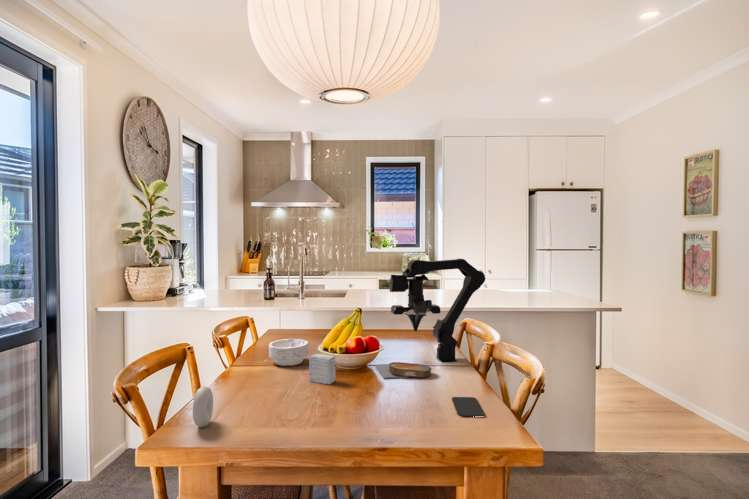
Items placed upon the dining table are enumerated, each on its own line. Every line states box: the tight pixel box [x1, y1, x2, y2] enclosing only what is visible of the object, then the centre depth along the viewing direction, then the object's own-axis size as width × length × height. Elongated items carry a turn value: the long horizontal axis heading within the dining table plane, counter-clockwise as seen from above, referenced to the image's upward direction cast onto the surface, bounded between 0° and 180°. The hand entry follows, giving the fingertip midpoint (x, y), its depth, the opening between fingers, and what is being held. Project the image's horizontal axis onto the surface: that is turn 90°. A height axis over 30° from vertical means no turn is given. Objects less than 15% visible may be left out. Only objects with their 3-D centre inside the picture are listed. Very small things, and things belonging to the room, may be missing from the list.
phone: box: [451, 396, 486, 418], centre depth 132 cm, size 7×1×15 cm
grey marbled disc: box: [192, 385, 214, 428], centre depth 118 cm, size 10×3×10 cm, turn 6°
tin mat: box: [374, 363, 410, 380], centre depth 166 cm, size 9×16×1 cm, turn 11°
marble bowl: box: [268, 338, 310, 367], centre depth 177 cm, size 15×15×8 cm
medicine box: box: [308, 353, 336, 385], centre depth 155 cm, size 8×4×9 cm, turn 65°
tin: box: [388, 361, 432, 379], centre depth 163 cm, size 15×3×8 cm
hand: (415, 331), depth 180 cm, fingers closed
